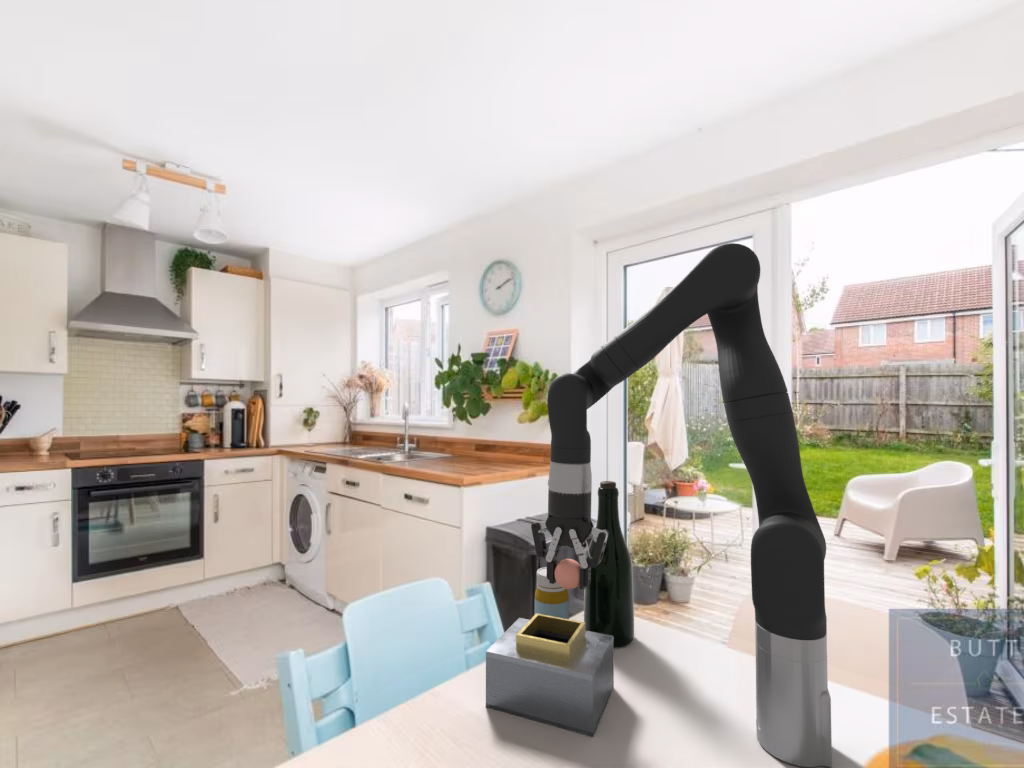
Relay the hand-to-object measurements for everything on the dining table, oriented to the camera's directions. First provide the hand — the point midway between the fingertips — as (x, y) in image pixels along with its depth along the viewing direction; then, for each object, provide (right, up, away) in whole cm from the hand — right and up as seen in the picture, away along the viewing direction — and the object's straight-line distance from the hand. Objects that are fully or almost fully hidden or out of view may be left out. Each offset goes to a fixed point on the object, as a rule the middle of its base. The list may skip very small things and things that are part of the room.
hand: (568, 584), depth 88 cm
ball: (0, +2, 0) cm, 2 cm away
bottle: (-2, -19, +15) cm, 24 cm away
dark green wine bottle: (+11, -19, +19) cm, 29 cm away
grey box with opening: (-3, -18, -3) cm, 18 cm away
